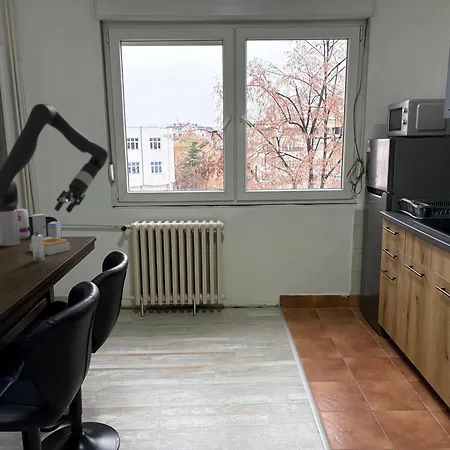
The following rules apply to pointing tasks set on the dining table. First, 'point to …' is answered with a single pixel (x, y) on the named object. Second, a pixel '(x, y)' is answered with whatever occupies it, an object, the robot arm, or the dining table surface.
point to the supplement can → (23, 223)
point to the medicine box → (54, 229)
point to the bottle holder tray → (53, 245)
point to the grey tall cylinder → (38, 247)
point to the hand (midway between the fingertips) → (61, 210)
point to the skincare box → (39, 224)
